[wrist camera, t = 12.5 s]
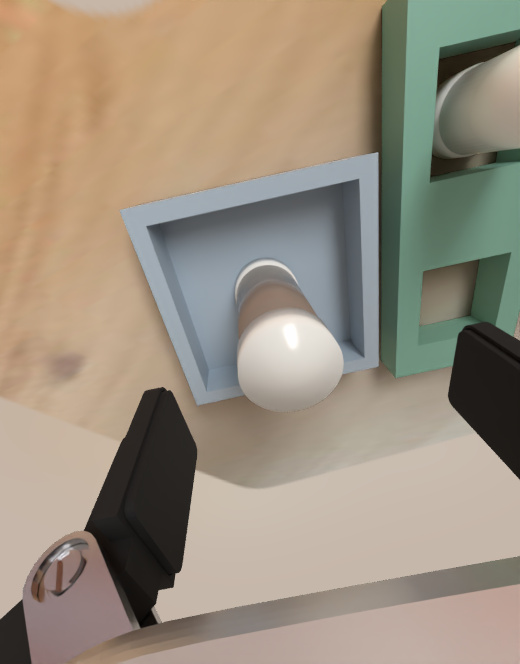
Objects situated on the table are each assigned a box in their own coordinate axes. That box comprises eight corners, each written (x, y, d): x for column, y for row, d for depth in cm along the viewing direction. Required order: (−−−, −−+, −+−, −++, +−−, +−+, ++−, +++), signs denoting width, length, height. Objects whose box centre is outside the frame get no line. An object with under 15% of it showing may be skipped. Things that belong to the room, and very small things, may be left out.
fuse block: (382, 6, 15) (408, -24, 13) (558, -35, 15) (617, -73, 12) (381, 360, 25) (395, 378, 23) (484, 338, 25) (508, 354, 23)
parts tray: (138, 204, 18) (119, 210, 15) (352, 156, 18) (378, 152, 15) (201, 376, 24) (197, 405, 21) (359, 342, 24) (378, 366, 21)
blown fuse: (228, 265, 19) (225, 338, 11) (290, 251, 19) (340, 312, 10) (242, 320, 21) (250, 421, 13) (298, 308, 21) (346, 400, 12)
